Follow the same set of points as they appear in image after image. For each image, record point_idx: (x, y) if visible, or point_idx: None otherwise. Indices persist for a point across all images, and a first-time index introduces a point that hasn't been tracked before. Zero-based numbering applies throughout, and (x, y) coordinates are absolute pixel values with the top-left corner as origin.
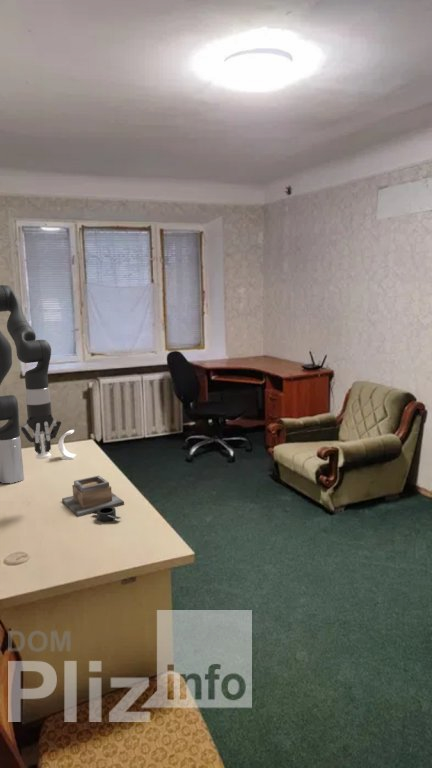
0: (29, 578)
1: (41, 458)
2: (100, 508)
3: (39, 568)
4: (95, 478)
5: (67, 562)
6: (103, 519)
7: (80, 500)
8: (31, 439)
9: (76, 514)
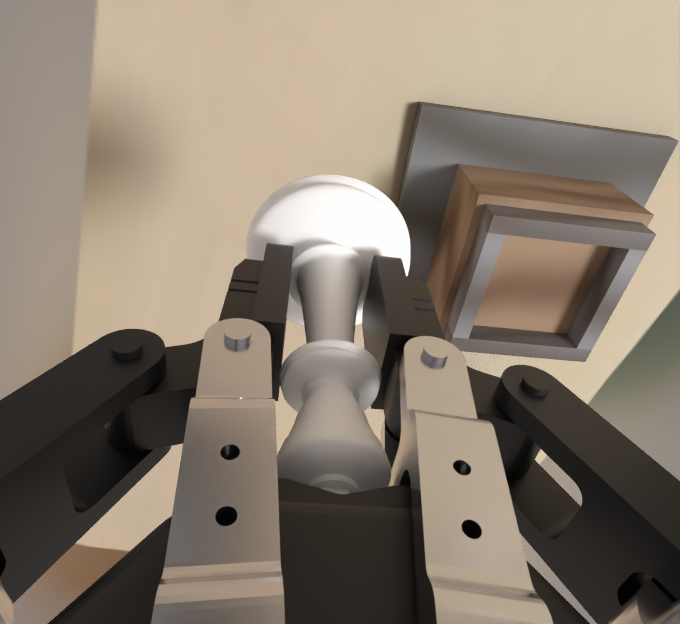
0: (114, 519)
1: None
2: None
3: (145, 501)
4: (613, 244)
5: None
6: None
7: (434, 280)
8: (138, 454)
9: None
